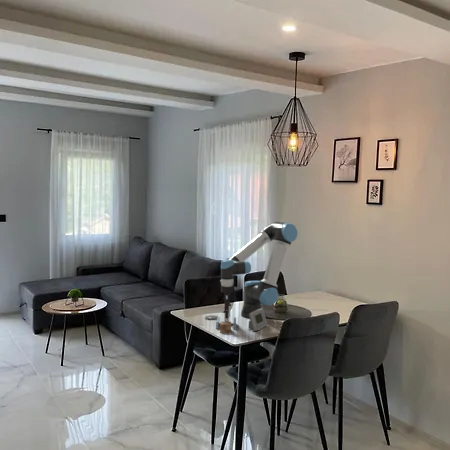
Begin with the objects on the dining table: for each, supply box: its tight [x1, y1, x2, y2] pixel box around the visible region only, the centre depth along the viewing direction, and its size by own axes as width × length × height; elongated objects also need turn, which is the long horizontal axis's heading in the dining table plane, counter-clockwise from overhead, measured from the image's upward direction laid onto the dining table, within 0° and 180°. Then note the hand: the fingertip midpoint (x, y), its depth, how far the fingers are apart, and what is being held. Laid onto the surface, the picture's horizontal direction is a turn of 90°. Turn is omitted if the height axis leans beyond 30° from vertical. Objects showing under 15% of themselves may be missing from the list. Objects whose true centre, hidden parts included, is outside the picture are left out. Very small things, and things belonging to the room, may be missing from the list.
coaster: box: [204, 315, 219, 321], centre depth 295 cm, size 9×9×1 cm
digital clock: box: [248, 308, 268, 332], centre depth 275 cm, size 16×9×11 cm, turn 138°
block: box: [219, 321, 232, 334], centre depth 267 cm, size 6×6×5 cm
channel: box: [215, 316, 237, 330], centre depth 277 cm, size 11×12×4 cm
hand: (227, 320), depth 278 cm, fingers open, 13 cm apart
